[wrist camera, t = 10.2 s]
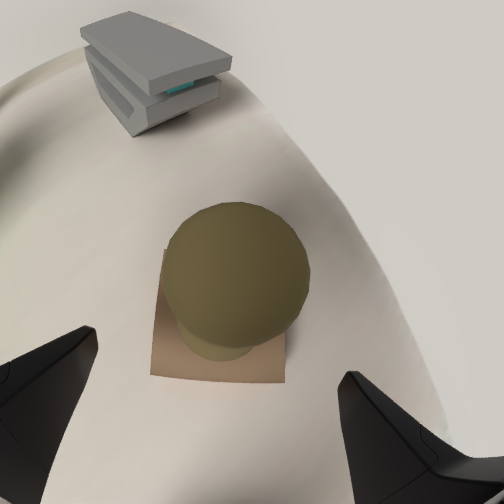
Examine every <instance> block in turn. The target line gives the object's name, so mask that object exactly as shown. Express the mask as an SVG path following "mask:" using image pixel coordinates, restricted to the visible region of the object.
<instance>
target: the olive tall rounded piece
mask: <svg viewBox="0 0 504 504" xmlns="http://www.w3.org/2000/svg"><path fill="white" fill-rule="evenodd" d="M309 281H310V267H309V262H308V258H307V254H306V250H305V248H304V247H303V245H302V243H301V241H300V240H299V238H298V236H297V235H296V233H295V231H294V230H293V229H292V228H291V227H290V226H289V225H288V224H287V223H286V222H285V221H284V220H283V219H282V218H281V217H280V216H278V215H277V214H275V213H273V212H271V211H269V210H267V209H265V208H263V207H262V206H257V205H253V204H249V203H244V202H231V203H220V204H217V205H214V206H211V207H208V208H206V209H203V210H200V211H198V212H197V213H195V214H194V215H193V216H191V217H190V218H188V219H187V220H186V221H184V222H183V223H182V224H181V226H180V227H179V228H178V230H177V231H176V232H175V234H174V235H173V236H172V238H171V239H170V241H169V244H168V248H167V251H166V254H165V258H164V261H163V264H162V283H163V291H164V294H165V296H166V299H167V301H168V304H169V306H170V309H171V311H172V313H173V314H174V315H175V317H176V318H177V327H178V331H179V333H180V335H181V337H182V340H183V342H184V343H185V344H186V345H187V346H188V347H189V348H190V349H191V350H192V351H193V352H194V353H196V354H197V355H199V356H201V357H203V358H205V359H208V360H213V361H218V362H223V361H231V360H235V359H237V358H240V357H242V356H244V355H246V354H247V353H248V352H249V351H250V350H251V349H252V348H253V347H254V346H258V345H261V344H263V343H265V342H267V341H269V340H271V339H273V338H275V337H277V336H279V335H281V334H282V333H283V332H284V331H285V330H286V329H287V328H288V327H289V326H290V325H291V324H292V323H293V321H294V320H295V319H296V318H297V317H298V315H299V313H300V311H301V308H302V306H303V304H304V302H305V299H306V297H307V295H308V292H309Z"/></svg>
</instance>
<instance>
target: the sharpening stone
mask: <svg viewBox="0 0 504 504" xmlns="http://www.w3.org/2000/svg"><path fill="white" fill-rule="evenodd" d="M80 33H81V37H82V38H83V39H85V40H86V41H87V42H88V43H89V44H91V45H89V46H86V47H84V49H85V55H86V60H87V62H88V65H89V68H90V70H91V73H92V76H93V78H94V81H95V83H96V86H97V88H98V91H99V93H100V96H101V98H102V100H103V101H104V102H105V104H106V105H107V106H108V108H109V109H110V110H111V111H112V113H113V114H114V115H115V116H116V118H117V119H118V120H119V122H120V123H121V124H122V125H123V127H124V128H125V129H126V130H127V132H128V133H129V134H130V135H131V137H134V136H136V135H138V134H140V133H142V132H144V131H146V130H148V129H150V128H152V127H154V126H156V125H158V124H160V123H163V122H165V121H167V120H169V119H172V118H174V117H176V116H179V115H181V114H183V113H186V112H188V111H190V110H192V109H194V108H197V107H199V106H201V105H203V104H205V103H207V102H210V101H212V100H214V99H217V98H219V91H220V83H221V80H219V79H218V78H216V77H215V76H213V75H214V74H218V73H221V72H225V71H229V70H230V68H231V62H232V56H231V55H229V54H227V53H225V52H224V51H222V50H220V49H218V48H216V47H214V46H212V45H210V44H208V43H206V42H204V41H202V40H200V39H198V38H196V37H194V36H192V35H190V34H187V33H185V32H183V31H181V30H178V29H176V28H174V27H171V26H169V25H166V24H164V23H161V22H159V21H156V20H153V19H151V18H148V17H145V16H142V15H140V14H136V13H133V12H131V11H128V12H125V13H121V14H118V15H115V16H112V17H109V18H106V19H103V20H100V21H98V22H95V23H92V24H89V25H87V26H84V27H82V28H80Z"/></svg>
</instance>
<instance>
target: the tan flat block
mask: <svg viewBox="0 0 504 504" xmlns="http://www.w3.org/2000/svg"><path fill="white" fill-rule="evenodd" d="M166 251H167V249H164V255H163V261H164V258H165V254H166ZM163 261H162V264H163ZM150 375H156V376H163V377H171V378H180V379H189V380H200V381H214V382H232V383H285V331H284V332H283V333H282V334H281V335H279V336H277V337H275V338H273V339H271V340H269V341H267V342H265V343H263V344H261V345H258V346H254V347H253V348H252V349H251V350H250V351H249V352H248V353H247V354H246V355H244V356H242V357H240V358H237V359H235V360H231V361H223V362H218V361H213V360H208V359H205V358H203V357H201V356H199V355H197V354H196V353H194V352H193V351H192V350H191V349H190V348H189V347H188V346H187V345H186V344H185V343H184V342H183V340H182V337H181V335H180V333H179V331H178V327H177V318H176V317H175V315H174V314H173V313H172V311H171V309H170V306H169V304H168V301H167V299H166V296H165V294H164V291H163V283H162V267H161V274H160V281H159V288H158V296H157V304H156V312H155V321H154V331H153V342H152V355H151V370H150Z"/></svg>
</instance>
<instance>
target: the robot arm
mask: <svg viewBox="0 0 504 504" xmlns="http://www.w3.org/2000/svg"><path fill="white" fill-rule="evenodd" d="M97 352H98V341H97V334H96V330H95V329H94V328H92V327H89V326H86V325H85V326H82V327H80V328H78V329H76V330H74V331H72V332H69V333H67V334H65V335H63V336H61V337H59V338H57V339H55V340H53V341H51V342H49V343H47V344H44V345H42V346H40V347H38V348H36V349H34V350H32V351H30V352H28V353H26V354H24V355H22V356H20V357H18V358H16V359H13V360H12V361H11V362H10V361H9V362H7V363H5V364H3V365H1V366H0V504H40V502H41V499H42V495H43V492H44V489H45V486H46V482H47V479H48V476H49V475H48V474H49V473H50V470H51V467H52V464H53V462H54V459H55V456H56V453H57V451H58V448H59V445H60V443H61V440H62V438H63V435H64V433H65V431H66V428H67V426H68V423H69V421H70V419H71V416H72V414H73V412H74V410H75V407H76V405H77V403H78V401H79V399H80V396H81V394H82V392H83V390H84V388H85V385H86V383H87V380H88V377H89V374H90V371H91V368H92V366H93V363H94V360H95V357H96V355H97ZM338 401H339V411H340V422H341V428H342V433H343V438H344V443H345V449H346V454H347V459H348V465H349V470H350V476H351V482H352V488H353V494H354V501H355V504H504V456H501V457H488V458H472V457H469V456H466V455H464V454H463V453H461V452H459V451H458V450H456V449H455V448H453V447H452V446H450V445H449V444H447V443H446V442H444V441H443V440H441V439H440V438H438V437H437V436H435V435H434V434H433V433H432V432H430V431H429V430H428V429H426V428H425V427H424V426H423V425H422V424H420V423H419V422H418V421H417V420H415V419H414V418H413V417H412V416H411V415H409V414H408V413H407V412H406V411H405V410H403V409H402V408H401V407H400V406H399V405H397V404H396V403H395V402H394V401H393V400H391V399H390V398H389V397H388V396H387V395H386V394H384V393H383V392H382V391H381V390H380V389H378V388H377V387H376V386H375V385H374V384H373V383H371V382H370V381H369V380H368V379H367V378H365V377H364V376H363V375H362V374H361V373H360V372H358V371H348V372H347V373H346V374H345V376H344V377H343V379H342V381H341V382H340V384H339V386H338Z"/></svg>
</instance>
